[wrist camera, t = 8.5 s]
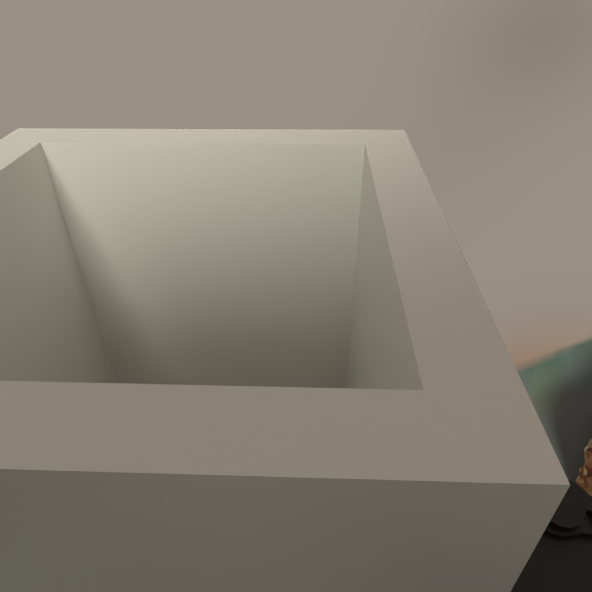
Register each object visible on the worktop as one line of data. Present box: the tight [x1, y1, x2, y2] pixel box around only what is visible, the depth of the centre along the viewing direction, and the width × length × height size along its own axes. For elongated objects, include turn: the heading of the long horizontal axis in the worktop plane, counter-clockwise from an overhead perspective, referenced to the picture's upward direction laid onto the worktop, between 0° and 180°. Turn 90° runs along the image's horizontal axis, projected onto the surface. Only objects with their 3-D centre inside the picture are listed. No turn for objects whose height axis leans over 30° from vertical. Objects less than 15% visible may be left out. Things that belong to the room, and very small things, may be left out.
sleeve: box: [0, 128, 570, 592], centre depth 9 cm, size 7×7×10 cm
